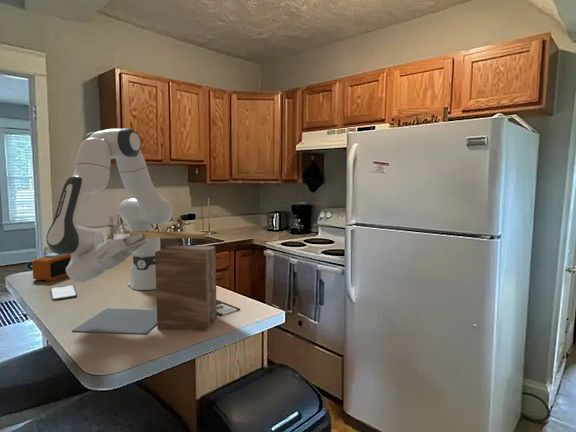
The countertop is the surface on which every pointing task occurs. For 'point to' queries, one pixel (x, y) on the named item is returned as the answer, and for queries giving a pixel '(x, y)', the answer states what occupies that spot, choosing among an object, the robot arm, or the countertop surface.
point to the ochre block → (170, 234)
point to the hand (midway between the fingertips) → (146, 232)
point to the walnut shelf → (186, 287)
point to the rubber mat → (120, 321)
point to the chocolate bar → (225, 308)
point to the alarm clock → (51, 266)
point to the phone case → (63, 293)
